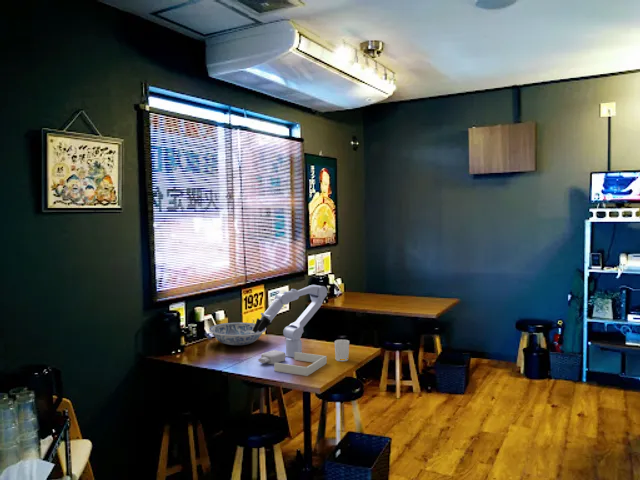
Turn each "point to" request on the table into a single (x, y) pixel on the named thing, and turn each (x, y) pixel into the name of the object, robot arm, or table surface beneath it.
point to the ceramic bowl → (235, 333)
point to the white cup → (341, 349)
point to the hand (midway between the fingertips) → (256, 331)
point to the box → (301, 370)
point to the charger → (272, 357)
